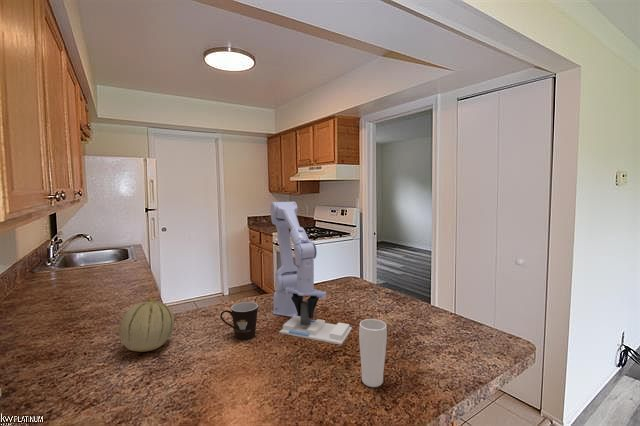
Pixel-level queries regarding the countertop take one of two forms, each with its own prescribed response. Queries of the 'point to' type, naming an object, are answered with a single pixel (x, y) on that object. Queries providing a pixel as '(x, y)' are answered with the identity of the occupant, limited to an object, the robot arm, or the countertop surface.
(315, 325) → the white slotted board
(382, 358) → the drinking glass
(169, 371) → the countertop surface
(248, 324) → the coffee mug
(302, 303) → the dark grey rounded piece
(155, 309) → the cantaloupe
